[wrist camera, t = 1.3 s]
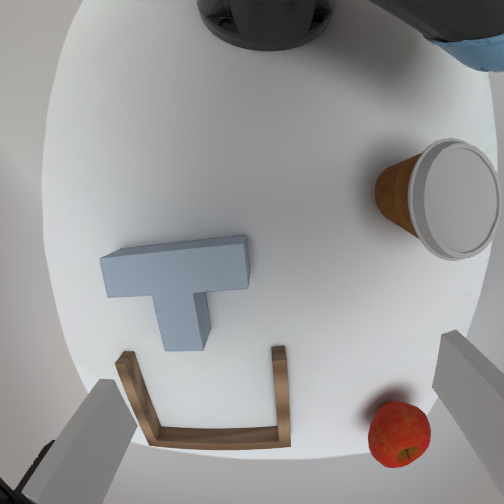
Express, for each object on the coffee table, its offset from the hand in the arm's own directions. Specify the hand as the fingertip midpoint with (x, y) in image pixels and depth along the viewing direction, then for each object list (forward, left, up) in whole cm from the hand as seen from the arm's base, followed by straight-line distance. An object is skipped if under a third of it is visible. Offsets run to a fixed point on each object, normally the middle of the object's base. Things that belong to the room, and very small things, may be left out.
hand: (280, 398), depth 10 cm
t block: (+2, -9, -21) cm, 23 cm away
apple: (+23, +15, -21) cm, 35 cm away
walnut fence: (+17, -9, -21) cm, 28 cm away
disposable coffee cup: (-6, +15, -21) cm, 27 cm away
